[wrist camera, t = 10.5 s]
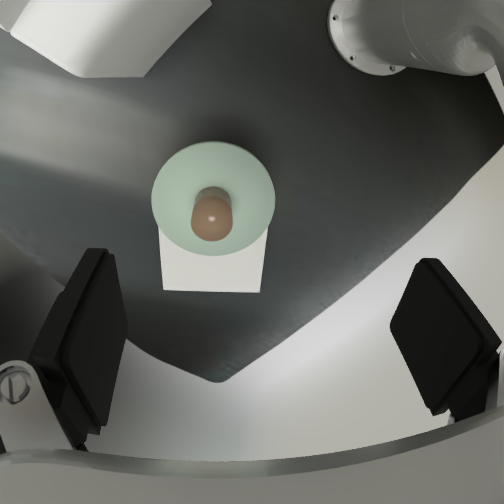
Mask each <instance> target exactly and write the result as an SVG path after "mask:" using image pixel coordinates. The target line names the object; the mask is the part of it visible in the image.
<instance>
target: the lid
mask: <svg viewBox="0 0 504 504" xmlns="http://www.w3.org/2000/svg"><path fill="white" fill-rule="evenodd" d="M274 208H275V191H274V187H273V183H272V181H271V178H270V176H269V173H268V172H267V170H266V168H265V167H264V165H263V164H262V163H261V161H260V160H259V159H258V158H257V157H256V156H255V155H253V154H252V153H251V152H249V151H248V150H246V149H244V148H242V147H240V146H238V145H235V144H233V143H228V142H224V141H204V142H198V143H195V144H192V145H189V146H187V147H185V148H183V149H181V150H180V151H178V152H176V153H175V154H174V155H173V156H172V157H170V158H169V159H168V161H167V162H166V163H165V164H164V165H163V167H162V168H161V170H160V172H159V173H158V176H157V178H156V180H155V182H154V186H153V190H152V210H153V214H154V217H155V220H156V222H157V224H158V226H159V227H160V229H161V231H162V232H163V233H164V234H165V236H166V237H167V238H168V239H169V240H171V241H172V242H173V243H174V244H176V245H177V246H179V247H181V248H182V249H184V250H187V251H189V252H192V253H195V254H199V255H204V256H222V255H228V254H232V253H235V252H238V251H240V250H242V249H244V248H246V247H248V246H249V245H251V244H252V243H254V242H255V241H256V240H257V239H258V238H259V237H260V236H261V235H262V234H263V233H264V231H265V230H266V228H267V227H268V225H269V223H270V221H271V219H272V216H273V213H274Z"/></svg>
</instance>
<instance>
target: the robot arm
mask: <svg viewBox="0 0 504 504" xmlns="http://www.w3.org/2000/svg"><path fill="white" fill-rule="evenodd" d="M333 17H335V21H334V20H333ZM327 29H328V33H329V37H330V39H331V42H332V44H333V46H334V48H335V49H336V51H337V52H338V54H339V55H340V56H341V57H342V58H343V59H344V60H345V61H346V62H347V63H348V64H350V65H351V66H352V67H354V68H356V69H358V70H359V71H362V72H365V73H368V74H372V75H381V76H385V75H392V74H395V73H398V72H400V71H402V70H403V69H405V68H406V67H412V68H419V69H426V70H432V71H438V72H444V73H449V74H455V75H462V76H473V75H478V74H481V73H484V72H486V71H488V70H489V69H490V68H492V67H493V66H494V65H496V66H497V68H498V71H499V74H500V77H501V80H502V83H503V86H504V0H334V1H333V2H332V4H331V6H330V8H329V11H328V17H327ZM350 56H351V57H352V60H350ZM390 67H391V69H390ZM390 330H391V333H392V335H393V337H394V339H395V341H396V343H397V345H398V347H399V349H400V351H401V353H402V355H403V357H404V360H405V362H406V364H407V366H408V368H409V370H410V372H411V374H412V376H413V379H414V381H415V383H416V385H417V387H418V390H419V392H420V394H421V396H422V399H423V400H424V403H425V405H426V407H427V408H429V409H430V411H431V413H432V415H433V416H436V415H439V414H442V413H445V412H446V411H447V410H448V409H449V410H450V412H451V413H450V416H449V420H448V424H447V426H444V427H441V428H438V429H434V430H431V431H428V432H425V433H421V434H417V435H414V436H410V437H406V438H402V439H398V440H394V441H390V442H386V443H382V444H377V445H372V446H368V447H363V448H358V449H352V450H347V451H341V452H335V453H328V454H321V455H313V456H305V457H296V458H286V459H274V460H259V461H229V462H208V461H207V462H206V461H179V460H160V459H147V458H137V457H127V456H119V455H111V454H102V453H94V452H89V450H88V449H87V447H86V446H85V444H84V442H85V441H86V439H87V434H88V433H89V434H95V435H100V430H101V426H106V424H107V422H108V416H109V411H110V406H111V401H112V396H113V391H114V387H115V382H116V378H117V373H118V369H119V365H120V360H121V356H122V352H123V348H124V344H125V340H126V336H127V331H128V322H127V318H126V313H125V309H124V304H123V299H122V294H121V289H120V284H119V279H118V274H117V268H116V262H115V257H114V255H113V254H109V252H108V250H107V249H104V248H88V249H87V250H86V251H85V253H84V255H83V257H82V258H81V260H80V262H79V264H78V265H77V267H76V269H75V271H74V272H73V274H72V276H71V278H70V280H69V282H68V283H67V285H66V287H65V289H64V291H63V292H61V293H60V294H59V295H58V297H57V299H56V301H55V302H54V304H53V306H52V308H51V310H50V312H49V314H48V316H47V318H46V320H45V322H44V324H43V326H42V329H41V331H40V333H39V335H38V337H37V339H36V341H35V344H34V346H33V348H32V350H31V353H30V355H29V357H28V360H27V362H23V361H10V362H7V363H4V364H3V365H1V366H0V504H504V348H503V349H502V350H501V351H500V353H499V354H498V353H497V351H496V350H497V349H498V347H499V346H500V344H501V343H502V341H501V340H500V338H499V337H498V335H497V334H496V333H495V331H494V330H493V328H492V327H491V325H490V324H489V323H488V321H487V320H486V318H485V317H484V316H483V314H482V313H481V312H480V310H479V309H478V308H477V306H476V305H475V304H474V302H473V301H472V300H471V298H470V297H469V296H468V295H467V293H466V292H465V291H464V289H463V288H462V287H461V286H460V285H459V283H458V282H457V281H456V279H455V278H454V277H453V276H452V274H451V273H450V272H449V271H448V270H447V268H446V267H445V266H444V265H443V264H442V263H441V261H440V260H439V259H437V258H422V259H421V260H420V261H419V262H418V263H417V264H416V265H415V267H414V270H413V272H412V274H411V277H410V279H409V282H408V284H407V287H406V289H405V291H404V293H403V296H402V298H401V300H400V302H399V305H398V307H397V309H396V311H395V313H394V315H393V318H392V320H391V323H390Z"/></svg>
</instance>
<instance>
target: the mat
mask: <svg viewBox="0 0 504 504" xmlns="http://www.w3.org/2000/svg"><path fill="white" fill-rule="evenodd" d="M267 230H268V227H267V228H266V230H265V231H264V233H263V234H262V235H261V236H260V237H259V238H258V239H257V240H256V241H255V242H254V243H252V244H251V245H249V246H248V247H246V248H244V249H242V250H240V251H238V252H235V253H232V254H228V255H222V256H204V255H199V254H195V253H192V252H189V251H187V250H184V249H182V248H181V247H179V246H177V245H176V244H174V243H173V242H172V241H171V240H169V239H168V238H167V237H166V236H165V234H164V233H163V232H162V231H161V229H160V227H159V241H160V254H161V267H162V278H163V288H164V290H183V291H216V292H259V291H260V284H261V276H262V269H263V261H264V253H265V245H266V238H267Z"/></svg>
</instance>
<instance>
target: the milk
mask: <svg viewBox="0 0 504 504" xmlns="http://www.w3.org/2000/svg"><path fill="white" fill-rule="evenodd" d="M211 5H212V3H211V1H210V0H0V27H1V28H2V29H4V30H5V31H6V32H10V33H11V36H13V37H15V38H16V39H18V40H20V41H21V42H23V43H24V44H26V45H27V46H29V47H31V48H32V49H34V50H35V51H37V52H38V53H40V54H42V55H43V56H45V57H46V58H48V59H49V60H51V61H52V62H54V63H55V64H57V65H59V66H60V67H62V68H63V69H65V70H67V71H68V72H70V73H72V74H74V75H76V76H79V77H83V78H93V77H144V76H145V75H146V73H147V72H148V71H149V70H150V69H151V68H152V66H153V65H154V64H155V63H156V62H157V61H158V59H159V58H160V57H161V56H162V55H163V54H164V53H165V52H166V51H167V49H168V48H169V47H170V46H171V45H172V44H173V43H174V42H175V41H176V40H177V39H178V38H179V37H180V36H181V35H182V33H183V32H184V31H185V30H186V29H187V28H188V27H189V26H190V25H191V24H192V23H193V22H194V21H195V20H196V19H197V18H198V17H200V16H201V15H202V14H203V13H204V12H205V11H206V10H207V9H208V8H209V7H210V6H211Z"/></svg>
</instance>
